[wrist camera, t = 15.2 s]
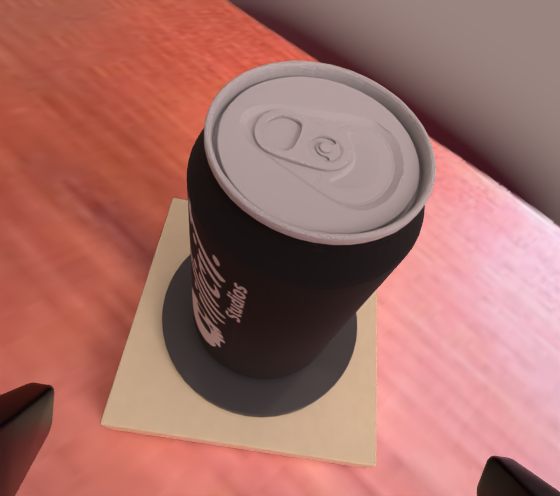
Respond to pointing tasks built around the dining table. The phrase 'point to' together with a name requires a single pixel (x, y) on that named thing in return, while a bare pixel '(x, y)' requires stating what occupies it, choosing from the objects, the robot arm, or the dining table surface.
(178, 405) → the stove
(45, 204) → the dining table surface
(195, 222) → the beverage can
